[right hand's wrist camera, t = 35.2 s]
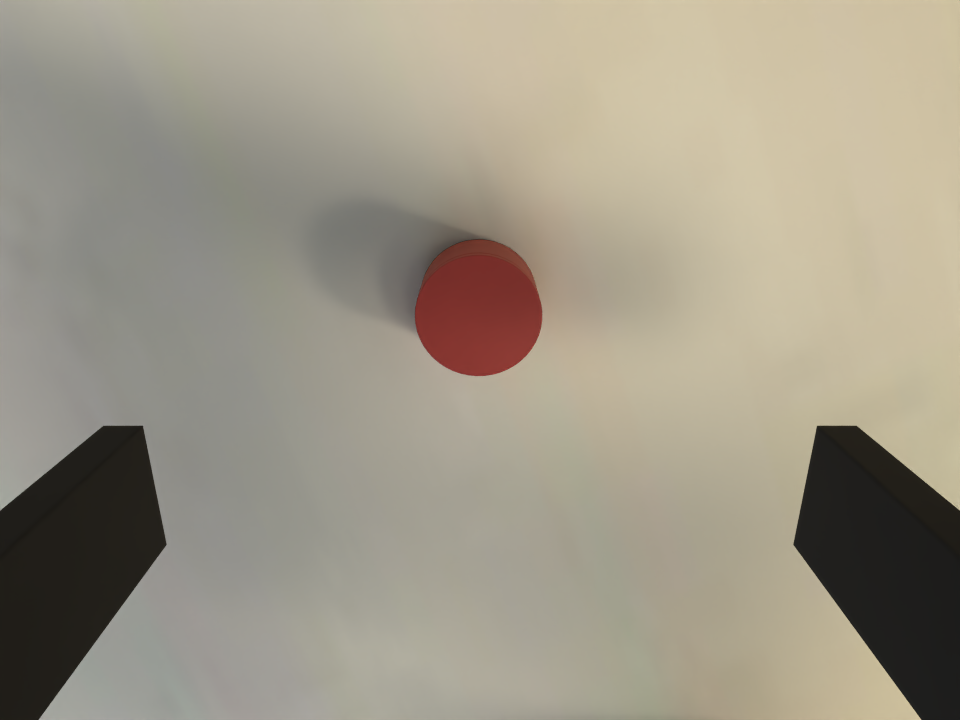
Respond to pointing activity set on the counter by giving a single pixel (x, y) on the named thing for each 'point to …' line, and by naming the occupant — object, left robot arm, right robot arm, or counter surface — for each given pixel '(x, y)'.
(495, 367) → the cap
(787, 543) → the counter surface
